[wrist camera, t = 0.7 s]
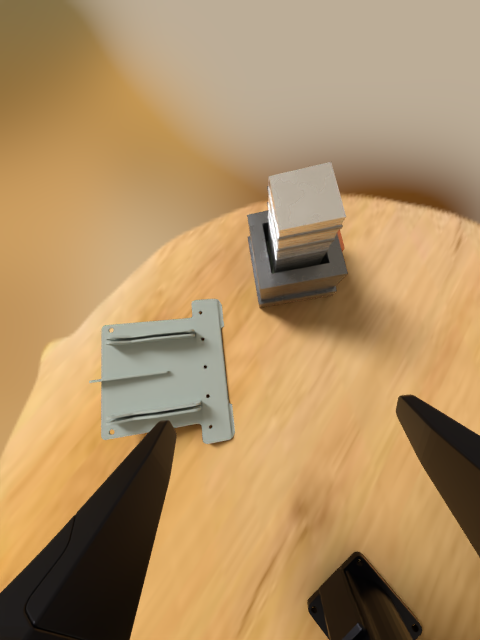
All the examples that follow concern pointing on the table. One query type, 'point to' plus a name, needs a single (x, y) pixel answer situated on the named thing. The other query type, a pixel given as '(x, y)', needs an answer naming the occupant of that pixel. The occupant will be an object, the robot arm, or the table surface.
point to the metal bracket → (166, 375)
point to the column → (302, 217)
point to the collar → (296, 281)
